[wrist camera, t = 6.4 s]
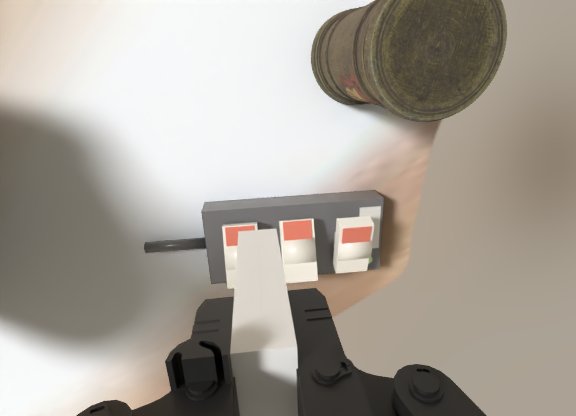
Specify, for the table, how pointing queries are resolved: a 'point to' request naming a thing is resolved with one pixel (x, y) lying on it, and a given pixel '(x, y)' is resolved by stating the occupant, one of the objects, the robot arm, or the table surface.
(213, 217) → the rocker switch panel
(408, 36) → the container
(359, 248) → the rocker
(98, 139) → the table surface
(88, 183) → the table surface
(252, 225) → the rocker
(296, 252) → the rocker
